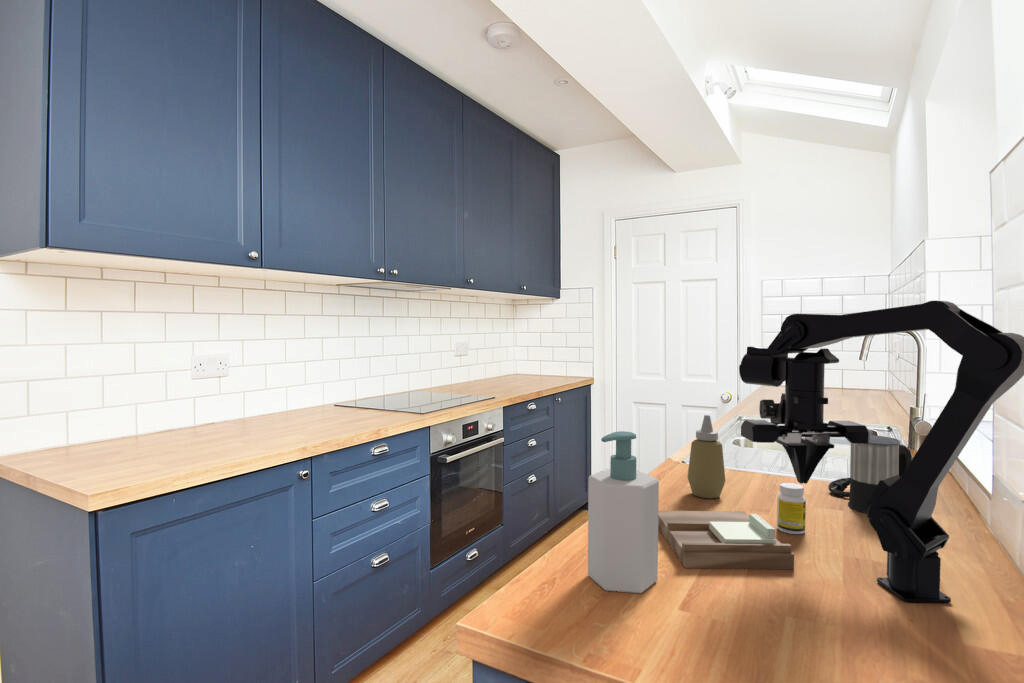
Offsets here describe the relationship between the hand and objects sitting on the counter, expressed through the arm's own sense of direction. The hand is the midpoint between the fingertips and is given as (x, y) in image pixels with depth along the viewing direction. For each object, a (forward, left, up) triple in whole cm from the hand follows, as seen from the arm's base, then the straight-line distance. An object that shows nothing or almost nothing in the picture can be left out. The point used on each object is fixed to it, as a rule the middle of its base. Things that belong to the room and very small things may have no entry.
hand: (802, 482), depth 93 cm
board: (+4, +12, -12) cm, 18 cm away
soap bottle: (-10, +31, -12) cm, 35 cm away
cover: (0, +10, -9) cm, 14 cm away
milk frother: (+28, -27, -12) cm, 40 cm away
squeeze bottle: (+32, +5, -12) cm, 35 cm away
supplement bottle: (+11, -4, -12) cm, 17 cm away
